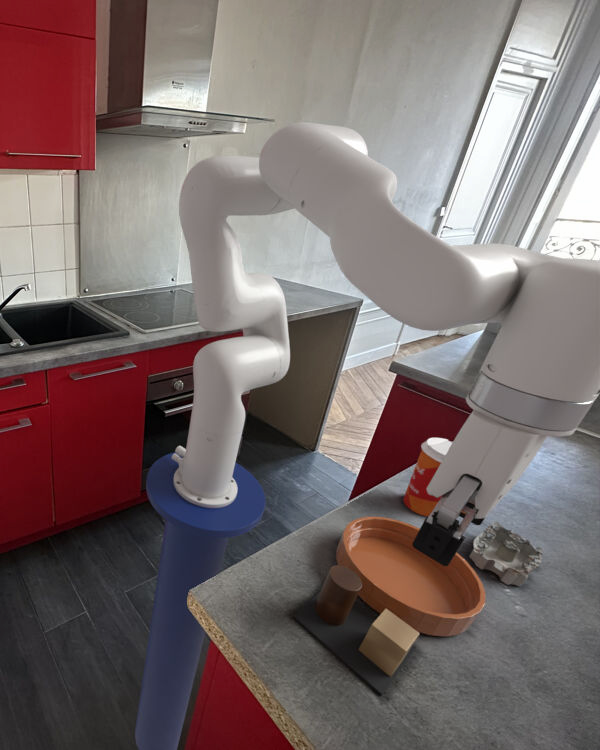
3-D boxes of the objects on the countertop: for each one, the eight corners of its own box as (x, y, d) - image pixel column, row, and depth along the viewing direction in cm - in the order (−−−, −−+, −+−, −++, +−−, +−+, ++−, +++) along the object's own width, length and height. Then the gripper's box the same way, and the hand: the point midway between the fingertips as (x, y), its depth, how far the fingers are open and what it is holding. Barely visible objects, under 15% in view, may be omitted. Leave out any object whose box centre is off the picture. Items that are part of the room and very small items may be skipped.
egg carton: (517, 593, 64) (530, 575, 62) (460, 557, 70) (470, 540, 68) (541, 564, 69) (553, 547, 67) (486, 533, 75) (496, 516, 73)
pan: (313, 566, 67) (321, 546, 65) (366, 520, 77) (374, 502, 75) (444, 665, 54) (459, 645, 52) (489, 595, 64) (502, 575, 62)
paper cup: (405, 487, 85) (432, 431, 79) (450, 509, 80) (482, 451, 74) (390, 502, 81) (416, 444, 75) (435, 527, 76) (468, 467, 70)
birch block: (358, 649, 55) (371, 624, 53) (372, 633, 57) (385, 607, 55) (390, 677, 52) (406, 651, 50) (404, 658, 54) (419, 633, 52)
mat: (292, 617, 59) (293, 615, 59) (329, 583, 65) (329, 581, 64) (381, 696, 51) (382, 694, 50) (415, 649, 56) (416, 647, 56)
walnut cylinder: (309, 608, 60) (323, 573, 57) (324, 594, 62) (338, 560, 59) (336, 631, 57) (353, 596, 54) (350, 616, 59) (367, 581, 56)
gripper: (500, 364, 45) (437, 486, 52) (439, 407, 36) (374, 546, 43) (601, 393, 39) (514, 524, 47) (559, 452, 30) (460, 602, 38)
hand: (447, 535), depth 45 cm, fingers open, 9 cm apart
